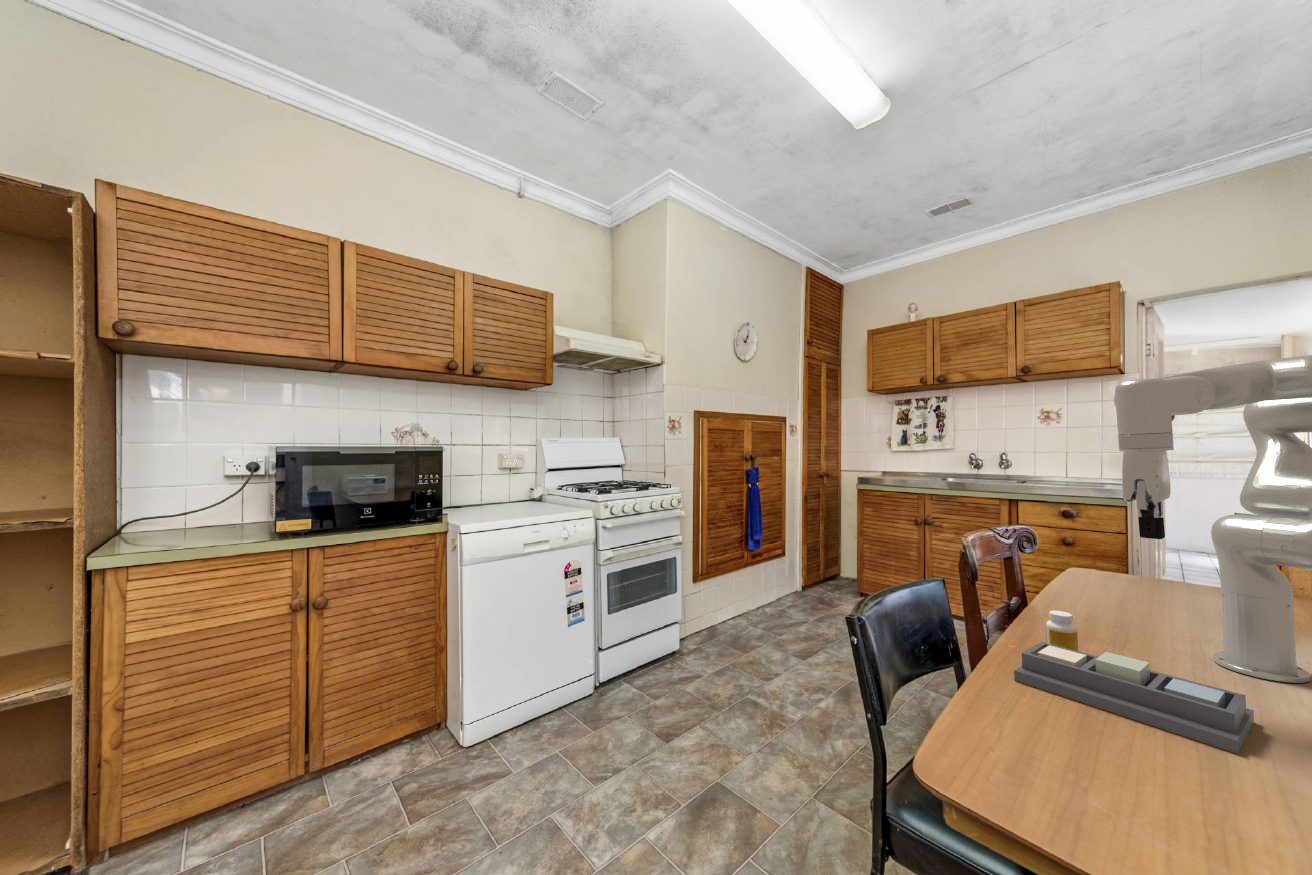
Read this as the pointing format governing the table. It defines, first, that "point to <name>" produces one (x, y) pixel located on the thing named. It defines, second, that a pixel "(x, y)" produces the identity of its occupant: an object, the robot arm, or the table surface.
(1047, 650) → the cream key
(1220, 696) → the blue key
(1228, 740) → the grey compartment tray
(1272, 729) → the table surface
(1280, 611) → the robot arm
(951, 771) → the table surface
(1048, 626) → the supplement bottle
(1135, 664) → the sage key
